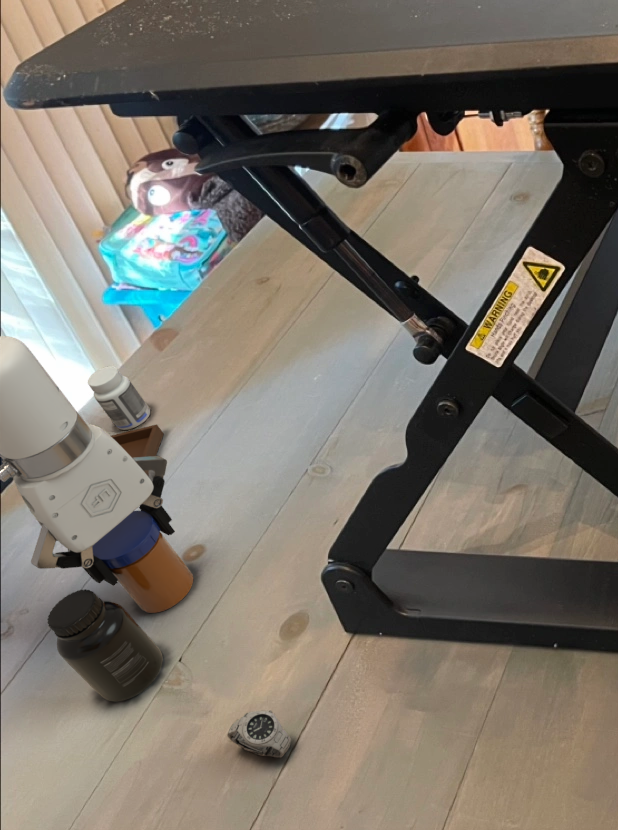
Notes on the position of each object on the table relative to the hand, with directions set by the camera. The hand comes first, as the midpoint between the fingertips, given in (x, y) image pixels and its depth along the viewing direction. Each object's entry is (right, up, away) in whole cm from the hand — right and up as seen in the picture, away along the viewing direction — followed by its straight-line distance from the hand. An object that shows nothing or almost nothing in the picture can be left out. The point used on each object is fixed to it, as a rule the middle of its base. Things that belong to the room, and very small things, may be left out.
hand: (137, 553), depth 119 cm
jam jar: (+1, -5, +4) cm, 7 cm away
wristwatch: (+21, -16, -14) cm, 30 cm away
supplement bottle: (+2, -12, -5) cm, 13 cm away
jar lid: (0, +2, -2) cm, 3 cm away
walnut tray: (-15, +5, +22) cm, 27 cm away
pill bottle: (-17, +11, +31) cm, 37 cm away
